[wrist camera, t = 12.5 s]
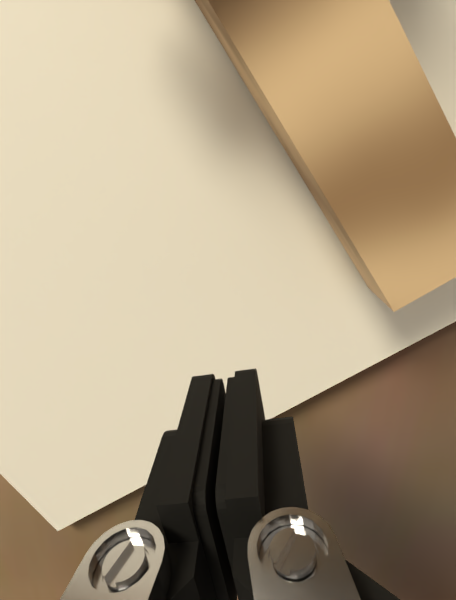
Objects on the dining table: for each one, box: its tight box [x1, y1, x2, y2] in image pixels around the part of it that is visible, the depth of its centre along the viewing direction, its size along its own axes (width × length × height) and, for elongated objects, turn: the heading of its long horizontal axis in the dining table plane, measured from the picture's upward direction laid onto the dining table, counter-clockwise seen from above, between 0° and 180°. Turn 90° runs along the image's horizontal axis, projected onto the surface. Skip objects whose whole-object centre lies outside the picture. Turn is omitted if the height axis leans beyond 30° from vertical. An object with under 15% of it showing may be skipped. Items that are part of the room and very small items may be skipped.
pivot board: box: [0, 0, 456, 531], centre depth 15 cm, size 29×30×1 cm
